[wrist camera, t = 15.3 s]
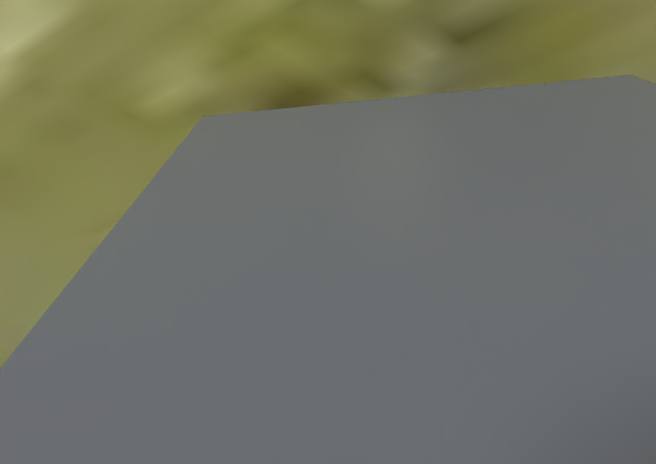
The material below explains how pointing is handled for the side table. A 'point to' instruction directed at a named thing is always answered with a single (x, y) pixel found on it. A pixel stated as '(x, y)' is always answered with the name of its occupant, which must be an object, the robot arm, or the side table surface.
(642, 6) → the side table surface
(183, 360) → the grey block
